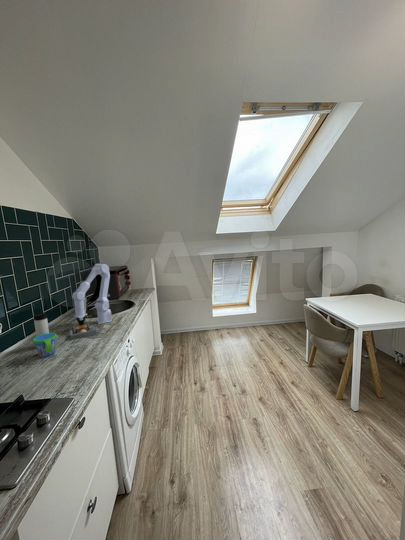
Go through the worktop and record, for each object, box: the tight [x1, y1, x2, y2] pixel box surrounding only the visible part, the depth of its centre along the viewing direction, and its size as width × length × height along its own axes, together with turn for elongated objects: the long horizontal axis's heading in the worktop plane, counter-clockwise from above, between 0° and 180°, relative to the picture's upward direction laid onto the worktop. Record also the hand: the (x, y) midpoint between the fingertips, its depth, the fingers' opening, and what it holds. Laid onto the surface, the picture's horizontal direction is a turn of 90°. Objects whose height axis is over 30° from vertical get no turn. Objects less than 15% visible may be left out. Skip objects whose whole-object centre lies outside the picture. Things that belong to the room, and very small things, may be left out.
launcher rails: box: [72, 322, 92, 334], centre depth 160 cm, size 10×13×1 cm
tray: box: [69, 325, 97, 341], centre depth 149 cm, size 14×9×3 cm, turn 122°
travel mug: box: [33, 312, 50, 337], centre depth 134 cm, size 6×7×20 cm
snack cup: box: [32, 332, 58, 358], centre depth 124 cm, size 16×10×10 cm
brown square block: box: [76, 323, 89, 333], centre depth 155 cm, size 6×6×3 cm
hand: (81, 327), depth 159 cm, fingers closed
